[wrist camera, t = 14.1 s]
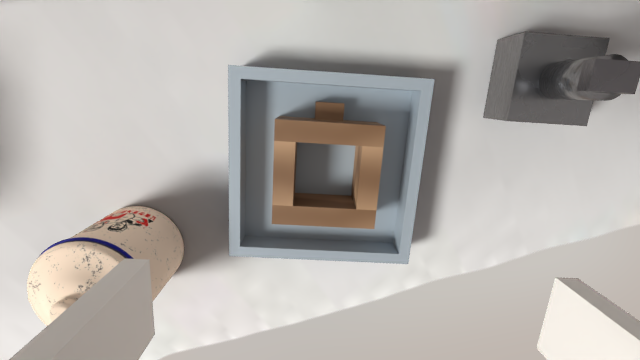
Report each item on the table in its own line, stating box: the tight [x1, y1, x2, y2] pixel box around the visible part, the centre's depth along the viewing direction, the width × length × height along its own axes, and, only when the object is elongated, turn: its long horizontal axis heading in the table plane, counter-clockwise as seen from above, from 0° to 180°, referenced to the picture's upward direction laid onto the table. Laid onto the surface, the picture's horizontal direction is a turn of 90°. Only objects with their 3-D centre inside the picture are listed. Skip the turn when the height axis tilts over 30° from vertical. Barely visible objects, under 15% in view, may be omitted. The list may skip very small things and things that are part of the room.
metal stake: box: [483, 32, 640, 126], centre depth 26 cm, size 7×7×10 cm
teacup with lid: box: [27, 206, 184, 326], centre depth 29 cm, size 12×9×12 cm
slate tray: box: [228, 65, 435, 264], centre depth 31 cm, size 17×17×4 cm
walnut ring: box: [272, 102, 386, 229], centre depth 30 cm, size 10×9×4 cm
